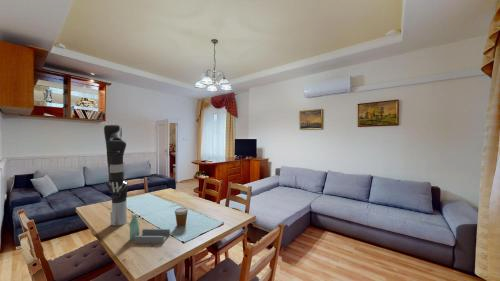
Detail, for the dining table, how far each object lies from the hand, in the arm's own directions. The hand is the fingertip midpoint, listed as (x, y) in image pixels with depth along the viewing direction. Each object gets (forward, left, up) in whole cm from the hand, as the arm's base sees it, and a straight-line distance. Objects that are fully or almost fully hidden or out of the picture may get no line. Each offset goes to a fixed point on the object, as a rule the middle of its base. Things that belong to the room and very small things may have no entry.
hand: (117, 197), depth 128 cm
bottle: (+11, 0, -27) cm, 29 cm away
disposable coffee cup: (+35, +19, -27) cm, 48 cm away
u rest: (+23, 0, -27) cm, 35 cm away
